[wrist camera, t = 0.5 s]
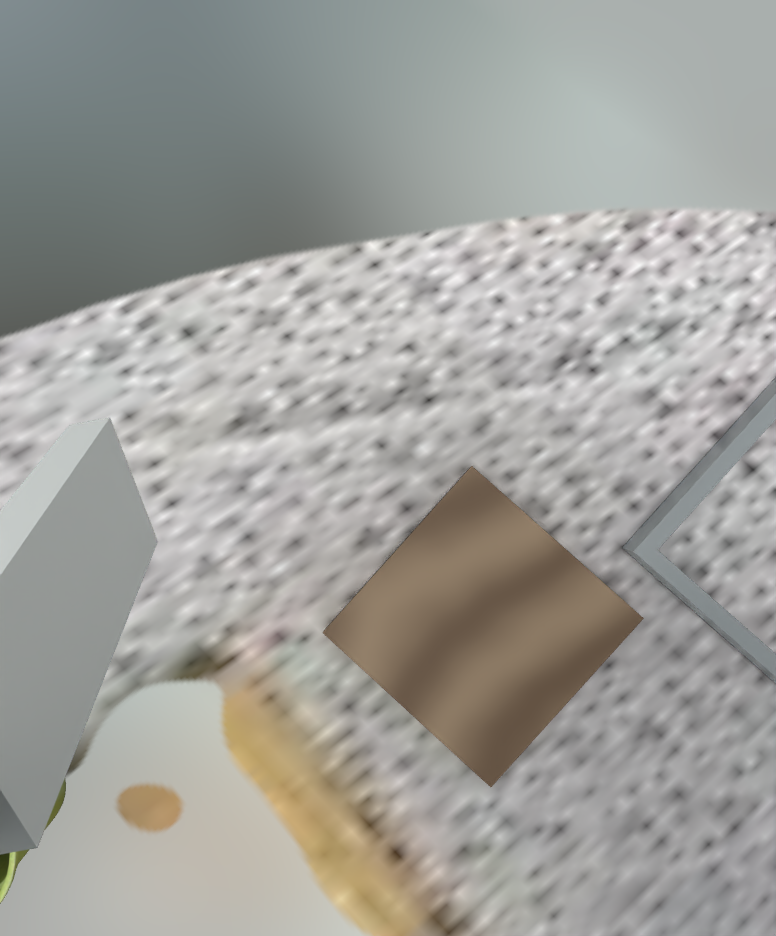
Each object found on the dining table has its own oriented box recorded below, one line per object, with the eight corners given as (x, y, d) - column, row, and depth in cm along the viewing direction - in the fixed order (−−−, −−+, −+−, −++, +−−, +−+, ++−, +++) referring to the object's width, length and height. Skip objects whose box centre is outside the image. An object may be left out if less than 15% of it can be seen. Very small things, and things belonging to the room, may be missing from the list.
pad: (638, 614, 45) (643, 618, 44) (489, 779, 45) (490, 787, 44) (470, 466, 46) (471, 466, 45) (325, 628, 46) (322, 632, 45)
